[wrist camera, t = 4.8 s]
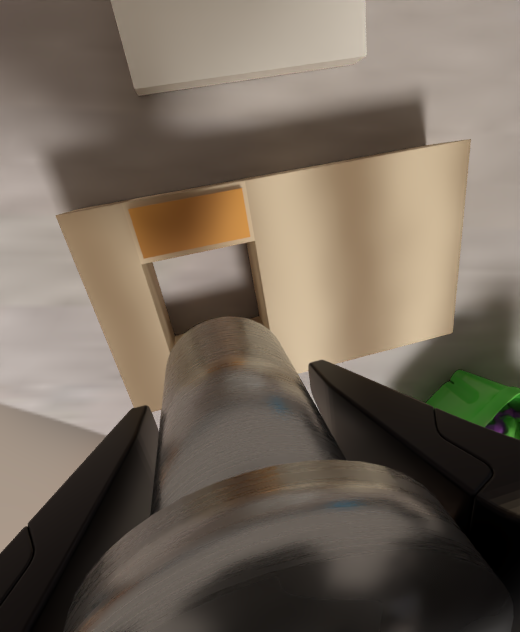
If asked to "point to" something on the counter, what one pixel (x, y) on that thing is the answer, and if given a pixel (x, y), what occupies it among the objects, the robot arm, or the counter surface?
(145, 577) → the peg
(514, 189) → the counter surface
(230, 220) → the rail plate
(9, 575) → the robot arm
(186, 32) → the tab
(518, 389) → the fruit basket
